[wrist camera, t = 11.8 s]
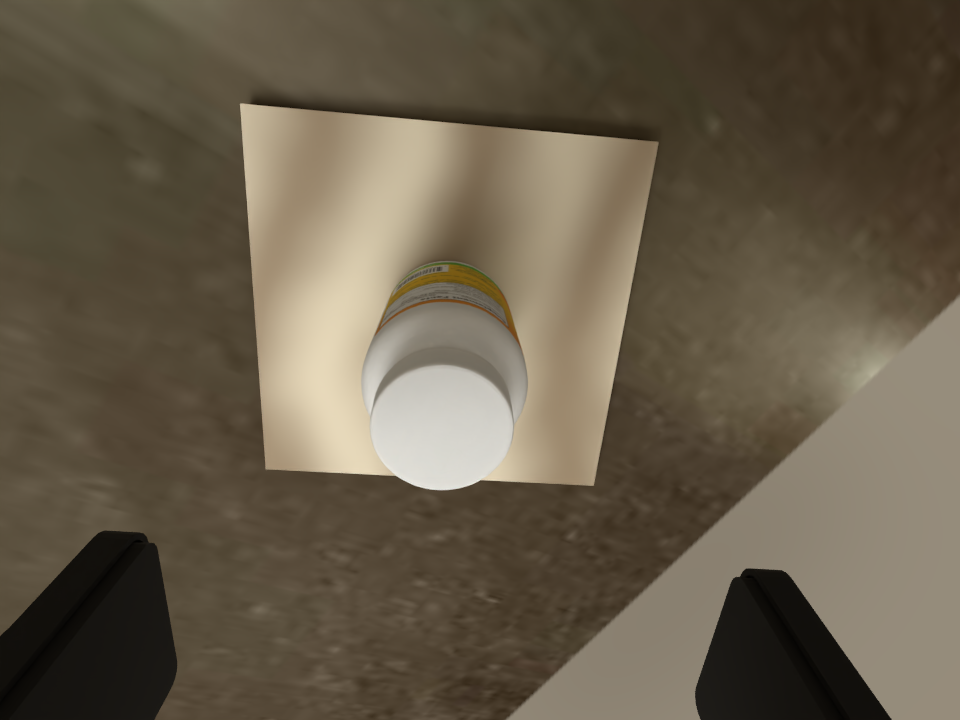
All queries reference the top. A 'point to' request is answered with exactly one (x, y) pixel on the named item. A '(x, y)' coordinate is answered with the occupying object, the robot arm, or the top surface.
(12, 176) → the top surface
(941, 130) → the top surface
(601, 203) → the birch board
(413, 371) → the supplement bottle
